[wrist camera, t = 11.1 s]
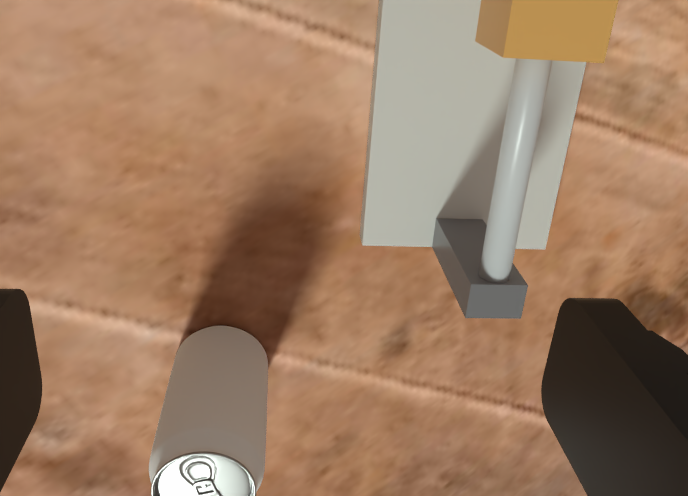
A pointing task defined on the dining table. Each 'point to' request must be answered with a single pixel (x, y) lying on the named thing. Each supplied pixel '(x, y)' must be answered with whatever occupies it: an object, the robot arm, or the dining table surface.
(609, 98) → the dining table surface
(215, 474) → the can
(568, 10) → the sleeve
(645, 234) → the dining table surface
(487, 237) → the cable stand
